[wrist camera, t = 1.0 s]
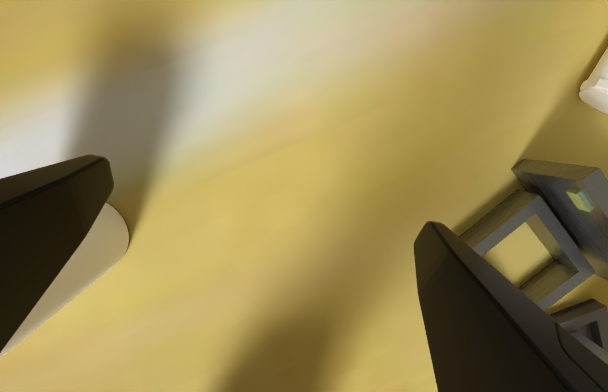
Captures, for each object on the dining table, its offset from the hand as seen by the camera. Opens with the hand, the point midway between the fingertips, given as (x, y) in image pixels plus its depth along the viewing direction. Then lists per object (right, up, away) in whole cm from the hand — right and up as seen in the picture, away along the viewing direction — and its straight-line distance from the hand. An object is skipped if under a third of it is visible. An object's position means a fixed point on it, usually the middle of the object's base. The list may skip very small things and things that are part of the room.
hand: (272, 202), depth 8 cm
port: (+18, -5, +17) cm, 25 cm away
